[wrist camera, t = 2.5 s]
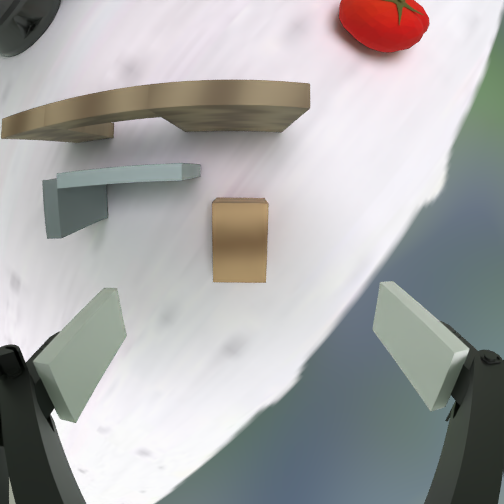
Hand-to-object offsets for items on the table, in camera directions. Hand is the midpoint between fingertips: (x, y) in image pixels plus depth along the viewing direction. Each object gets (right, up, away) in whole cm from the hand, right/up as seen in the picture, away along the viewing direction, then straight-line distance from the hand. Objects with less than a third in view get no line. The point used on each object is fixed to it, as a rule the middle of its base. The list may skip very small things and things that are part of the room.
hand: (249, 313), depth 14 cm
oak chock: (-1, +5, +25) cm, 25 cm away
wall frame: (-9, +19, +20) cm, 29 cm away
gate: (-14, +11, +22) cm, 28 cm away
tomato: (+17, +35, +17) cm, 43 cm away
